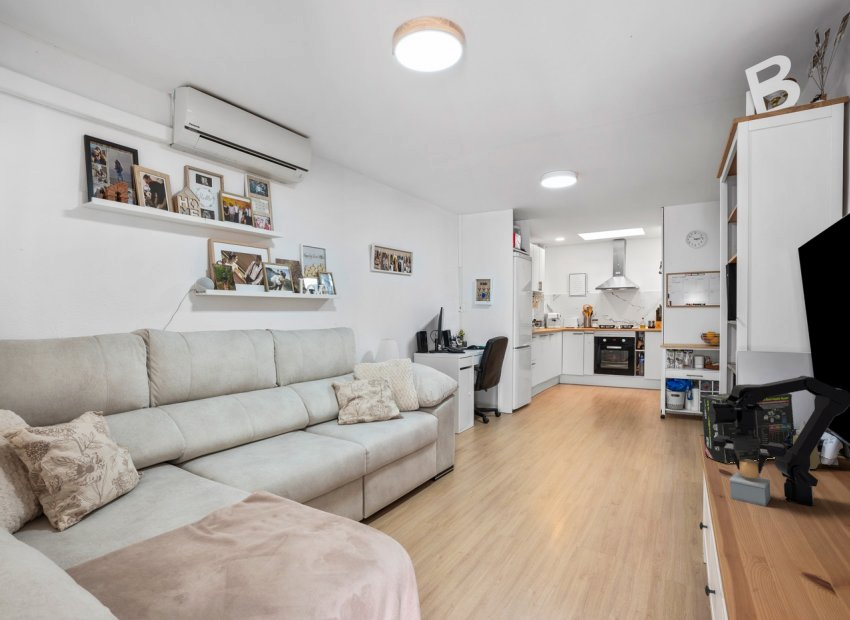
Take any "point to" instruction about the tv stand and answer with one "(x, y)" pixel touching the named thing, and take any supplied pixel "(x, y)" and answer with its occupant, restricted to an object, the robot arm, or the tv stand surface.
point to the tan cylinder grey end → (749, 468)
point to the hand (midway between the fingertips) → (749, 471)
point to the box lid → (750, 480)
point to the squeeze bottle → (814, 456)
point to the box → (750, 493)
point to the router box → (769, 423)
